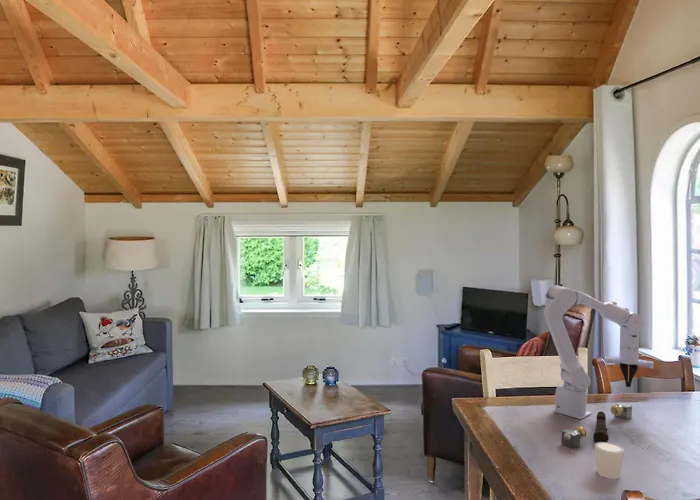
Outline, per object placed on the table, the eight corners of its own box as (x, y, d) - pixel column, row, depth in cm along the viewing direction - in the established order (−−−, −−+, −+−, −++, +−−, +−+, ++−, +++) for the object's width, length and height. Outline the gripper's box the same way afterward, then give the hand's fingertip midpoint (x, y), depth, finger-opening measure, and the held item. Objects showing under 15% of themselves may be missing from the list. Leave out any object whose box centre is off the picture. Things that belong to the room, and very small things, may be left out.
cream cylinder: (588, 467, 136) (589, 441, 136) (613, 466, 137) (614, 441, 136) (603, 480, 129) (604, 453, 129) (629, 479, 130) (630, 452, 130)
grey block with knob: (620, 421, 169) (621, 407, 169) (609, 417, 172) (609, 404, 172) (632, 417, 172) (632, 403, 172) (620, 413, 176) (621, 400, 176)
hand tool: (608, 447, 150) (608, 431, 150) (592, 444, 152) (593, 428, 152) (610, 425, 166) (611, 411, 166) (596, 423, 168) (597, 409, 168)
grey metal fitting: (574, 439, 154) (575, 424, 154) (587, 444, 151) (587, 428, 151) (560, 444, 151) (560, 429, 150) (572, 449, 147) (572, 433, 147)
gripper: (605, 346, 175) (604, 386, 176) (654, 351, 168) (653, 392, 169) (605, 342, 181) (604, 380, 182) (653, 347, 175) (652, 386, 175)
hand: (628, 386), depth 176 cm, fingers closed
